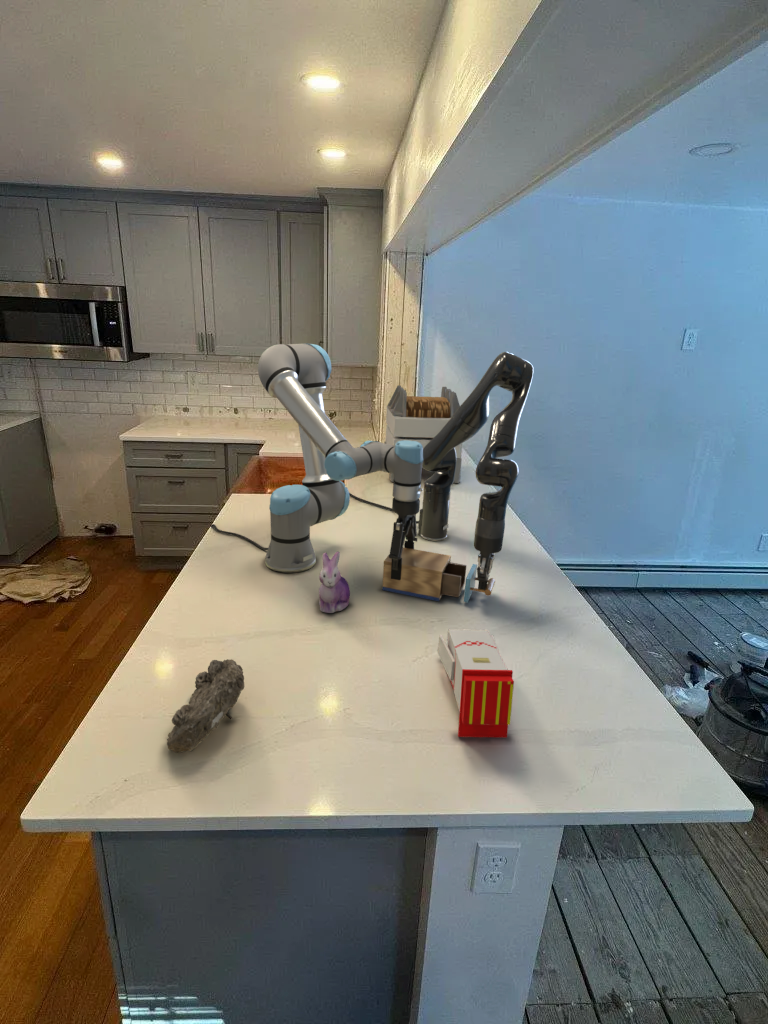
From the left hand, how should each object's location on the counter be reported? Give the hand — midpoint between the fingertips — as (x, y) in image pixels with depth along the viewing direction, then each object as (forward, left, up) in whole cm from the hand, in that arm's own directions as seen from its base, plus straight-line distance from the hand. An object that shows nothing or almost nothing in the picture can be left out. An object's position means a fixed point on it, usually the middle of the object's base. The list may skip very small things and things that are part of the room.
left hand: (402, 570), depth 162 cm
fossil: (-17, -68, -4) cm, 70 cm away
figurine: (-13, -19, -4) cm, 24 cm away
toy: (+28, -41, -4) cm, 50 cm away
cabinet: (+4, 0, -4) cm, 6 cm away
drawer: (+16, 0, -3) cm, 16 cm away
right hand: (+23, 0, -1) cm, 23 cm away
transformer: (-27, +116, -4) cm, 119 cm away
